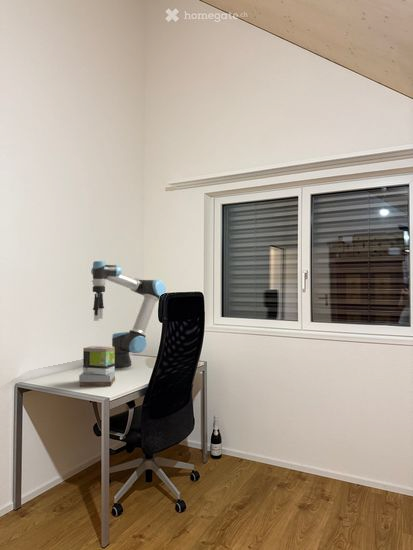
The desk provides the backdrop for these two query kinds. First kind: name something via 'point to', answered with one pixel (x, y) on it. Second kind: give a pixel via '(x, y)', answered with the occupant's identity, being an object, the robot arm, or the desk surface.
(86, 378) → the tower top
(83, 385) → the tower base
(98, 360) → the tea box
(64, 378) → the desk surface
